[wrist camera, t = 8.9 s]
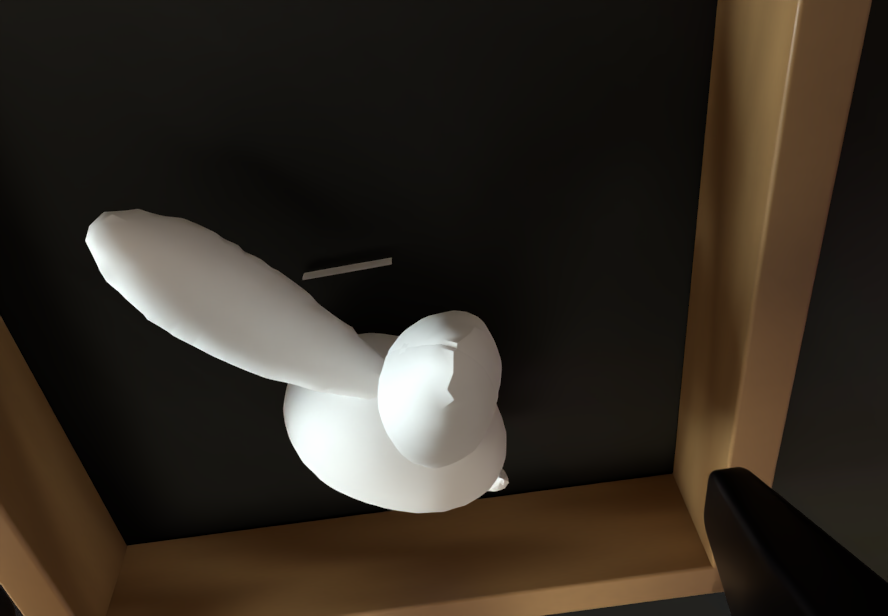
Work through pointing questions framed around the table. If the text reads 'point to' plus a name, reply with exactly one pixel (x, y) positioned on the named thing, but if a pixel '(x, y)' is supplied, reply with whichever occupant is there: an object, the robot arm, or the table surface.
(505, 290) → the table surface
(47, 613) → the frame
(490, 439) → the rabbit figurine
